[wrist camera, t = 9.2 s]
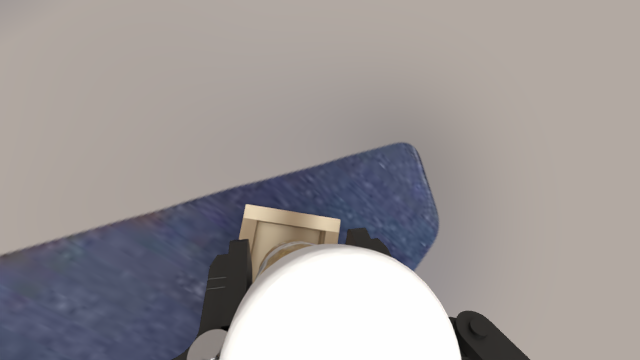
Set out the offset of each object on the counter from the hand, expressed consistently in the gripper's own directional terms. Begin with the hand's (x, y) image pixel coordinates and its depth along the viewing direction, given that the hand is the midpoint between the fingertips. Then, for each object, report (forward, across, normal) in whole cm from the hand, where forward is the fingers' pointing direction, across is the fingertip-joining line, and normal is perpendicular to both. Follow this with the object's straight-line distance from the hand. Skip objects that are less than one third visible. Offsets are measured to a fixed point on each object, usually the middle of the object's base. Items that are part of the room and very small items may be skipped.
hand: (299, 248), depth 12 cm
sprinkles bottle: (+3, 0, +6) cm, 7 cm away
